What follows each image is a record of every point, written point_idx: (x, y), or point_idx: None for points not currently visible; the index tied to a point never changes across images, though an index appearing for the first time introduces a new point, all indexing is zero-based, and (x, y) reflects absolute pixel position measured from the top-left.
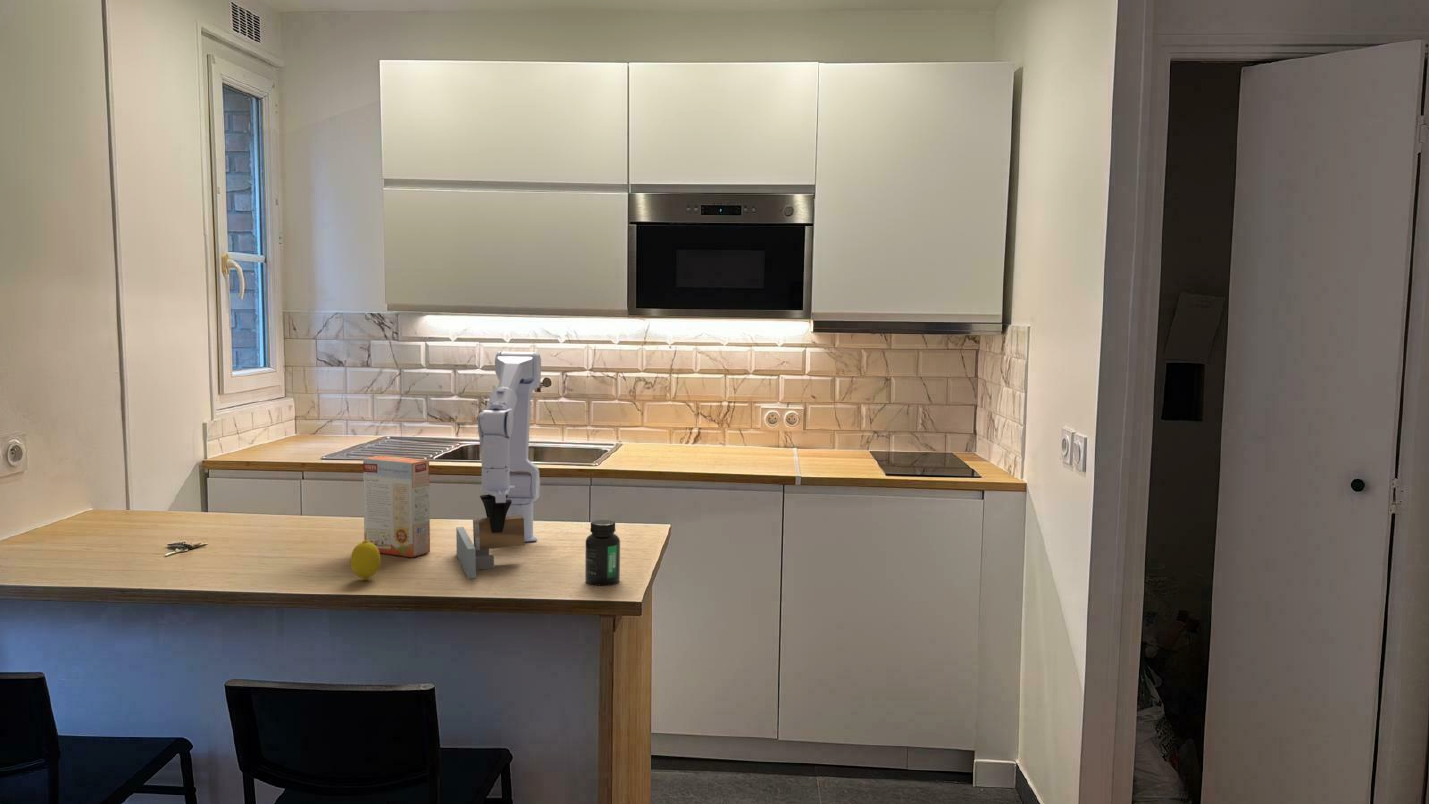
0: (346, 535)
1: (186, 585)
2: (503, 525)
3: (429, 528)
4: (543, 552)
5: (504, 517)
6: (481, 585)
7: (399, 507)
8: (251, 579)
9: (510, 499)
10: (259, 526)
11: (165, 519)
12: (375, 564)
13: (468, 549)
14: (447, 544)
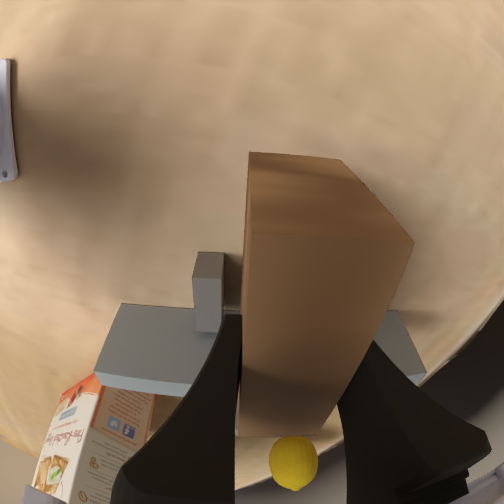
0: (20, 399)
1: None
2: (373, 340)
3: (95, 411)
4: (165, 29)
5: (402, 378)
6: (449, 303)
7: None
8: None
9: (443, 473)
10: (14, 426)
11: (18, 445)
12: (314, 451)
13: (417, 383)
14: (33, 312)
